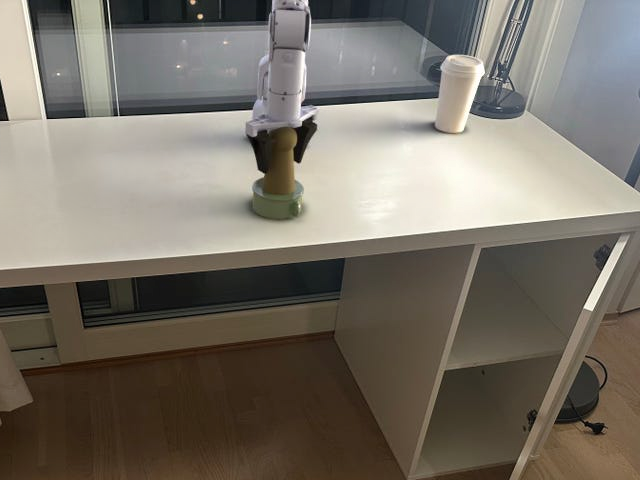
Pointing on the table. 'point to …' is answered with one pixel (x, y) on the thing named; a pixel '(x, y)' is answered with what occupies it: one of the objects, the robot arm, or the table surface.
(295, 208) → the upturned mug
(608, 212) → the table surface
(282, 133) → the brown pawn
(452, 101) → the coffee cup
